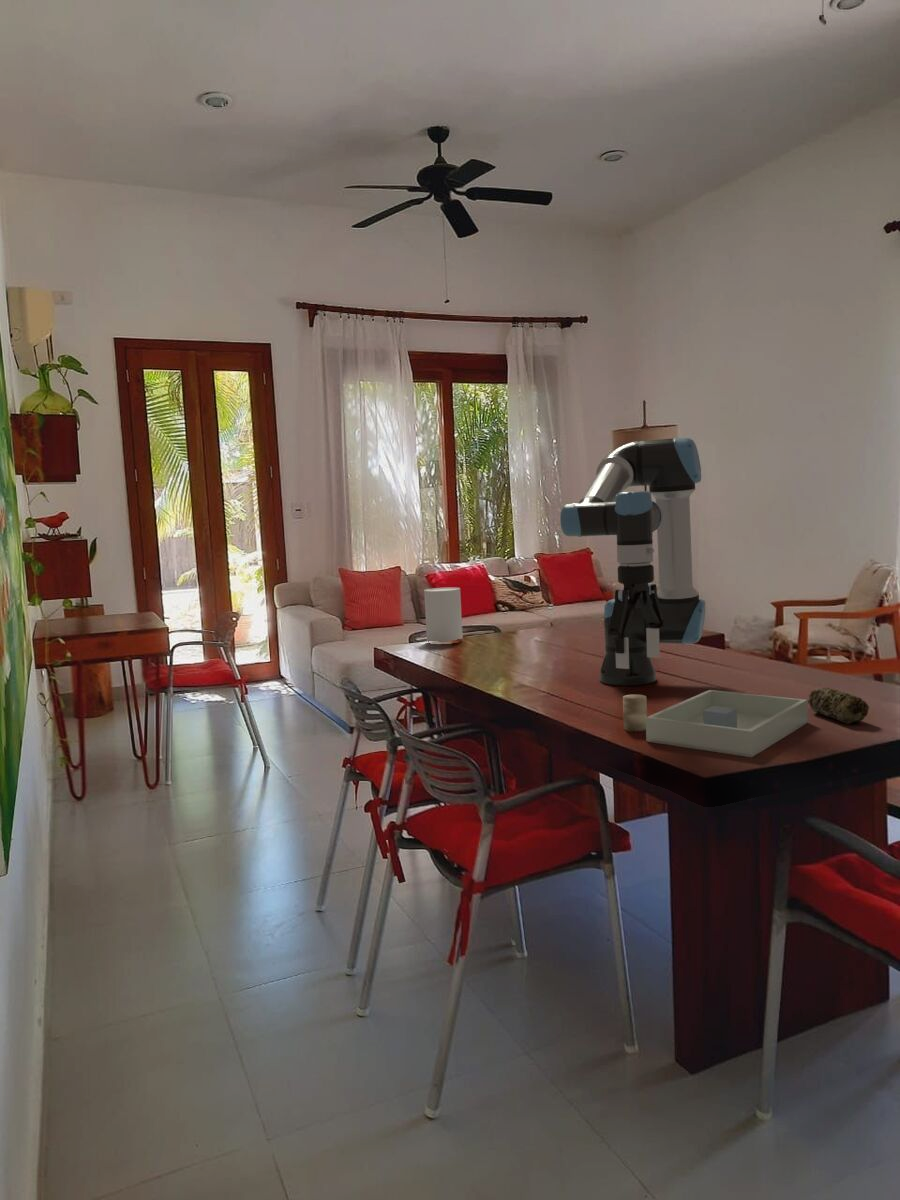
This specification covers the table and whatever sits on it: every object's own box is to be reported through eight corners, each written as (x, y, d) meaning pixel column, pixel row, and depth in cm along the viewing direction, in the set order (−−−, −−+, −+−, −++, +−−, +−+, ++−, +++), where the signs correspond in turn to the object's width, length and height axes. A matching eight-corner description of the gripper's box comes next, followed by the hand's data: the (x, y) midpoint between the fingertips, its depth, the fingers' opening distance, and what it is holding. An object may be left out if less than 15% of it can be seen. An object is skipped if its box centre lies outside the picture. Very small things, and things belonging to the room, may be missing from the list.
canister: (455, 645, 317) (452, 590, 315) (421, 644, 322) (418, 591, 320) (467, 639, 330) (465, 587, 328) (435, 639, 334) (432, 587, 332)
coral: (805, 713, 194) (804, 686, 193) (829, 710, 195) (829, 683, 195) (846, 728, 180) (845, 699, 179) (872, 725, 181) (872, 696, 180)
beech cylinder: (619, 729, 188) (618, 698, 187) (631, 724, 192) (630, 693, 191) (640, 732, 184) (639, 700, 184) (651, 727, 188) (650, 695, 187)
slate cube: (714, 729, 182) (713, 705, 181) (737, 732, 178) (736, 708, 178) (703, 734, 178) (703, 710, 178) (726, 737, 175) (726, 713, 174)
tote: (646, 741, 177) (645, 717, 177) (710, 711, 200) (709, 689, 199) (751, 757, 163) (751, 731, 162) (807, 722, 185) (807, 699, 185)
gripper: (621, 569, 172) (625, 674, 174) (678, 559, 191) (680, 654, 193) (589, 569, 177) (592, 671, 179) (647, 559, 196) (650, 652, 198)
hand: (638, 662), depth 186 cm, fingers open, 13 cm apart
